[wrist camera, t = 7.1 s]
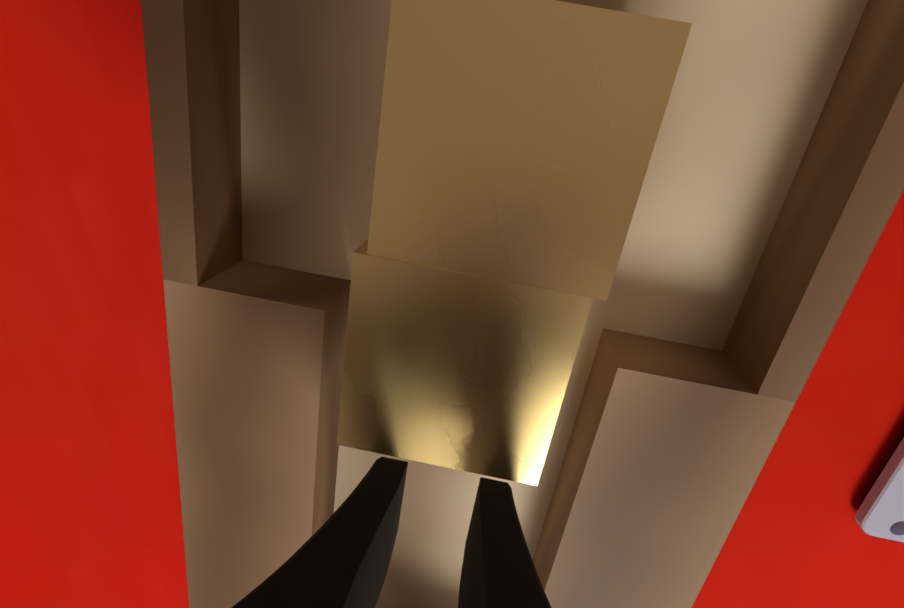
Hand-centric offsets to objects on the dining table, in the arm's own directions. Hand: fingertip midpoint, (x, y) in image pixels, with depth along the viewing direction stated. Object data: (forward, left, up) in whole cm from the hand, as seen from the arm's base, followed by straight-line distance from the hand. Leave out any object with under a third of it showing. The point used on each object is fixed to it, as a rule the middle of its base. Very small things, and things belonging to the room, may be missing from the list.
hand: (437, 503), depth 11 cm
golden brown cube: (0, -8, -3) cm, 8 cm away
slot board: (0, 0, -4) cm, 4 cm away
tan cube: (0, -4, -3) cm, 5 cm away
